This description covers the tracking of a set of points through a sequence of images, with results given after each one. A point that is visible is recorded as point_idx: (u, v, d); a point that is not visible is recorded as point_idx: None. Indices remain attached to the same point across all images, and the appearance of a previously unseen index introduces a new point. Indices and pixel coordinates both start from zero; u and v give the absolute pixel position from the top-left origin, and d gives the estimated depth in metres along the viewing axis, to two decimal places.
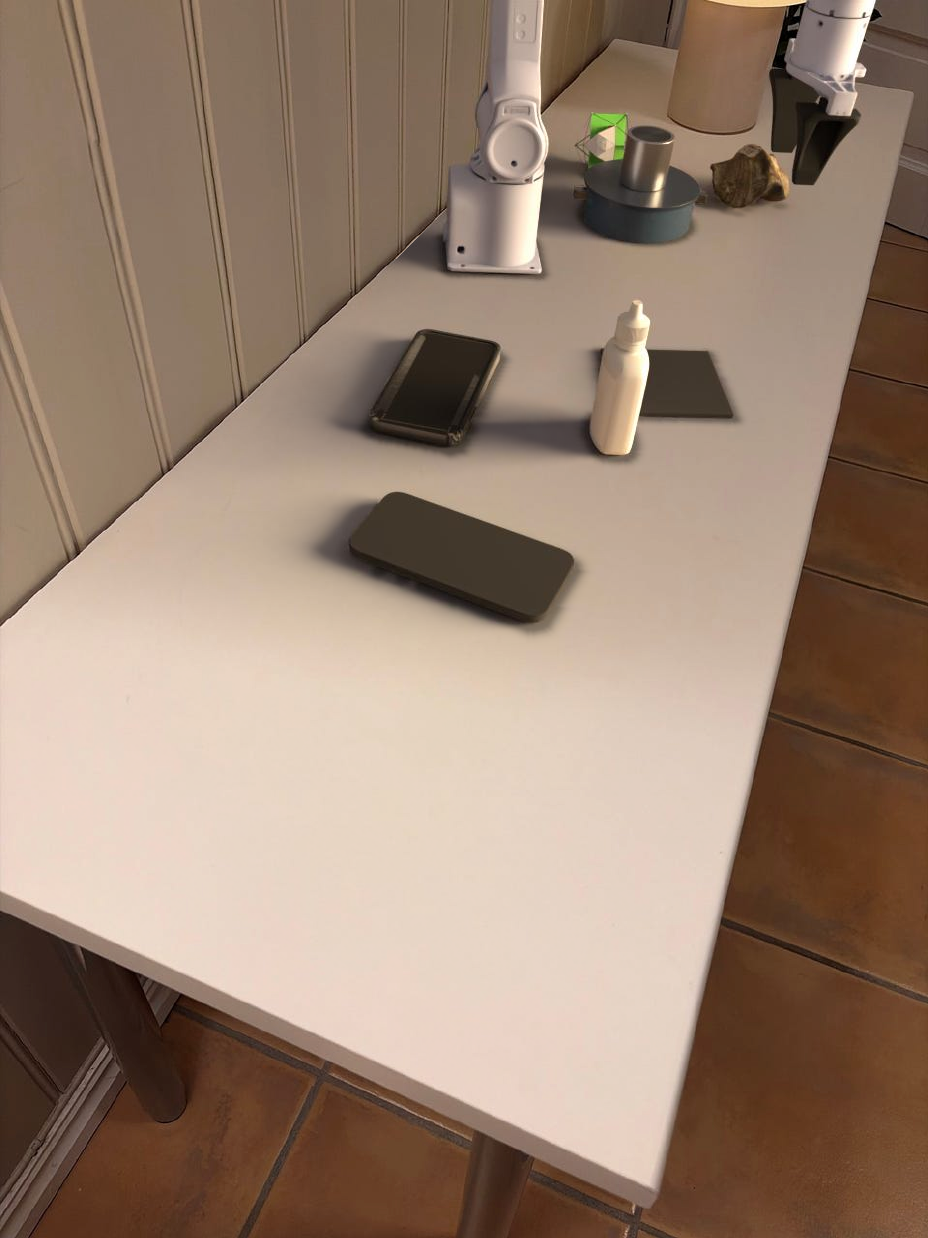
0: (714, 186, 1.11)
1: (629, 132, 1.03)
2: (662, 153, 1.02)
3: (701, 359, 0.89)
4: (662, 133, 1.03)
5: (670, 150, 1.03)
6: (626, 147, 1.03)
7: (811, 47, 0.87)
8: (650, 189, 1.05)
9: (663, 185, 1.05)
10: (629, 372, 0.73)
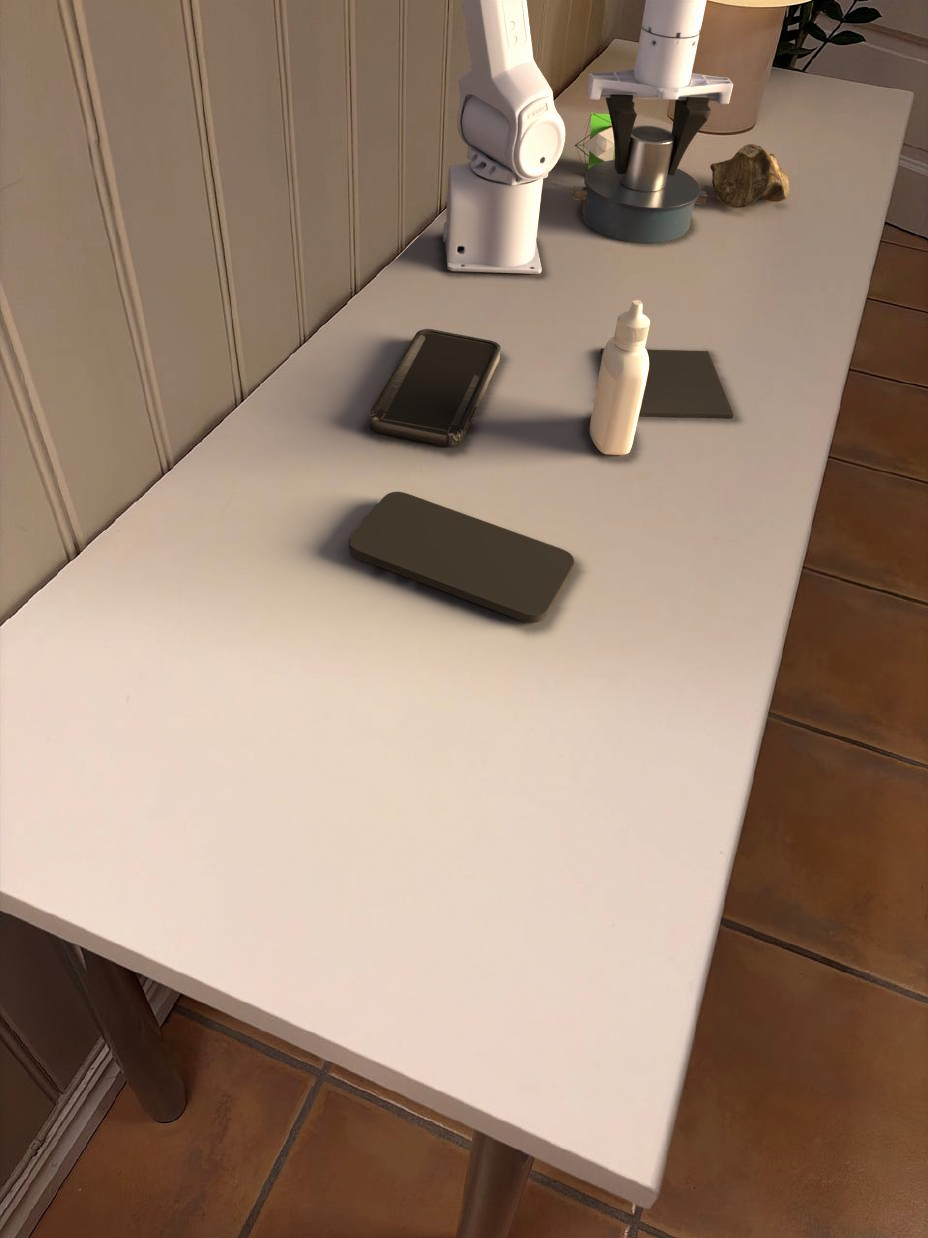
0: (714, 186, 1.11)
1: None
2: (662, 153, 1.02)
3: (701, 359, 0.89)
4: (662, 133, 1.03)
5: (670, 150, 1.03)
6: None
7: None
8: (650, 189, 1.05)
9: (663, 185, 1.05)
10: (629, 372, 0.73)
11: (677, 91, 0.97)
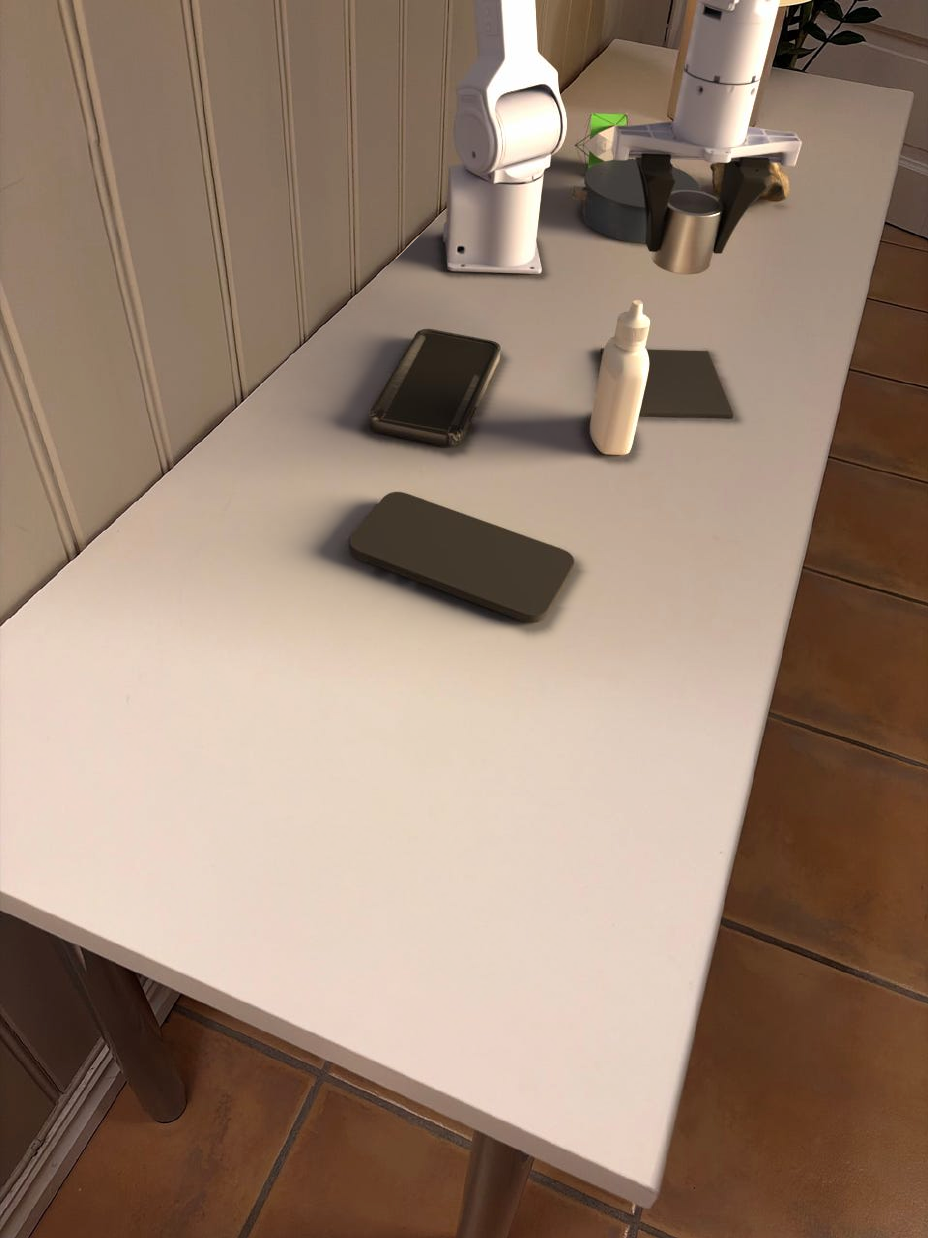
0: (714, 186, 1.11)
1: None
2: (707, 228, 0.80)
3: (701, 359, 0.89)
4: (707, 201, 0.81)
5: (717, 223, 0.80)
6: None
7: None
8: (690, 271, 0.82)
9: (707, 266, 0.83)
10: (629, 372, 0.73)
11: (729, 152, 0.74)
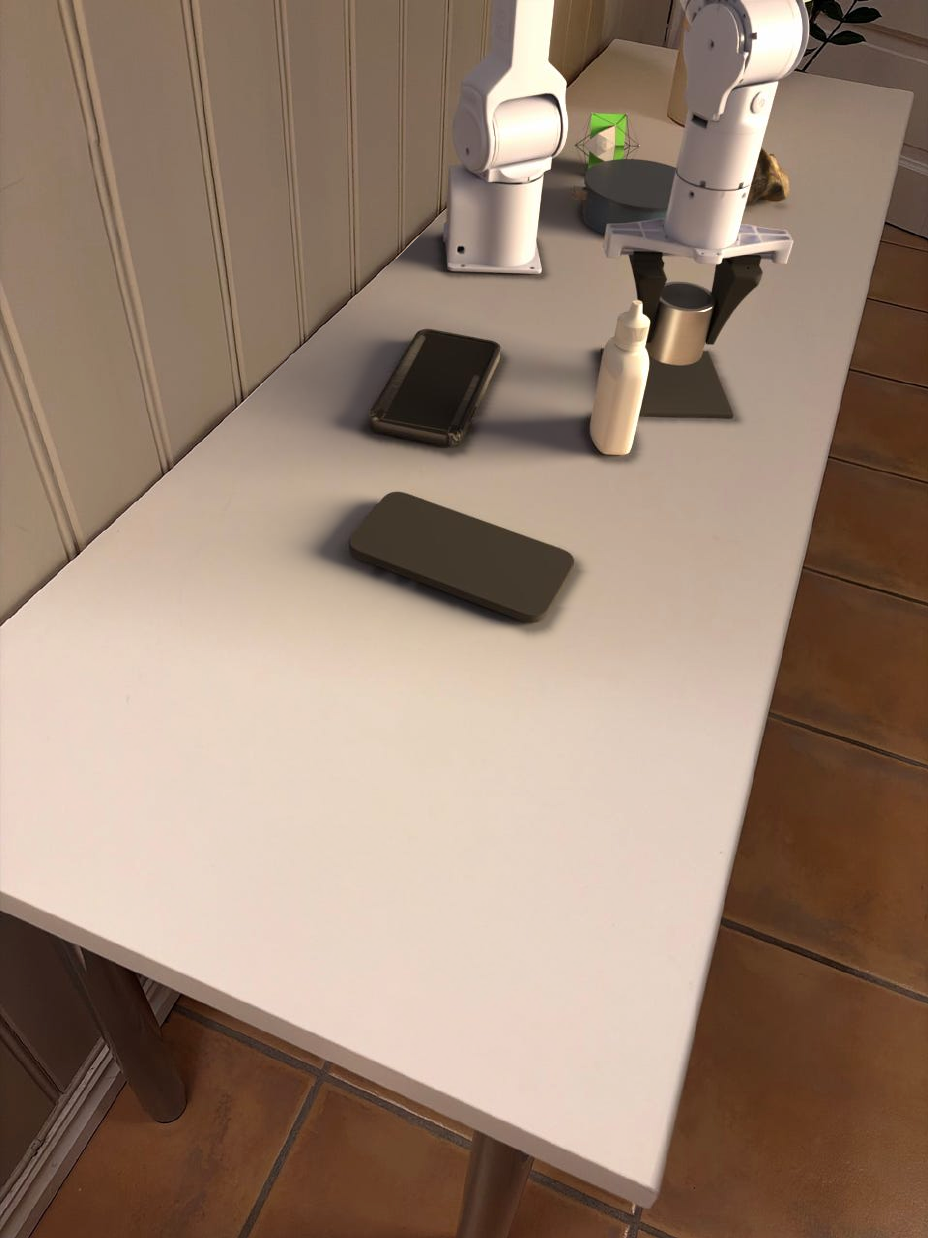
0: None
1: None
2: (699, 322, 0.80)
3: (701, 359, 0.89)
4: (700, 294, 0.81)
5: (709, 317, 0.80)
6: None
7: None
8: (682, 363, 0.82)
9: (699, 356, 0.83)
10: (629, 372, 0.73)
11: (720, 254, 0.74)
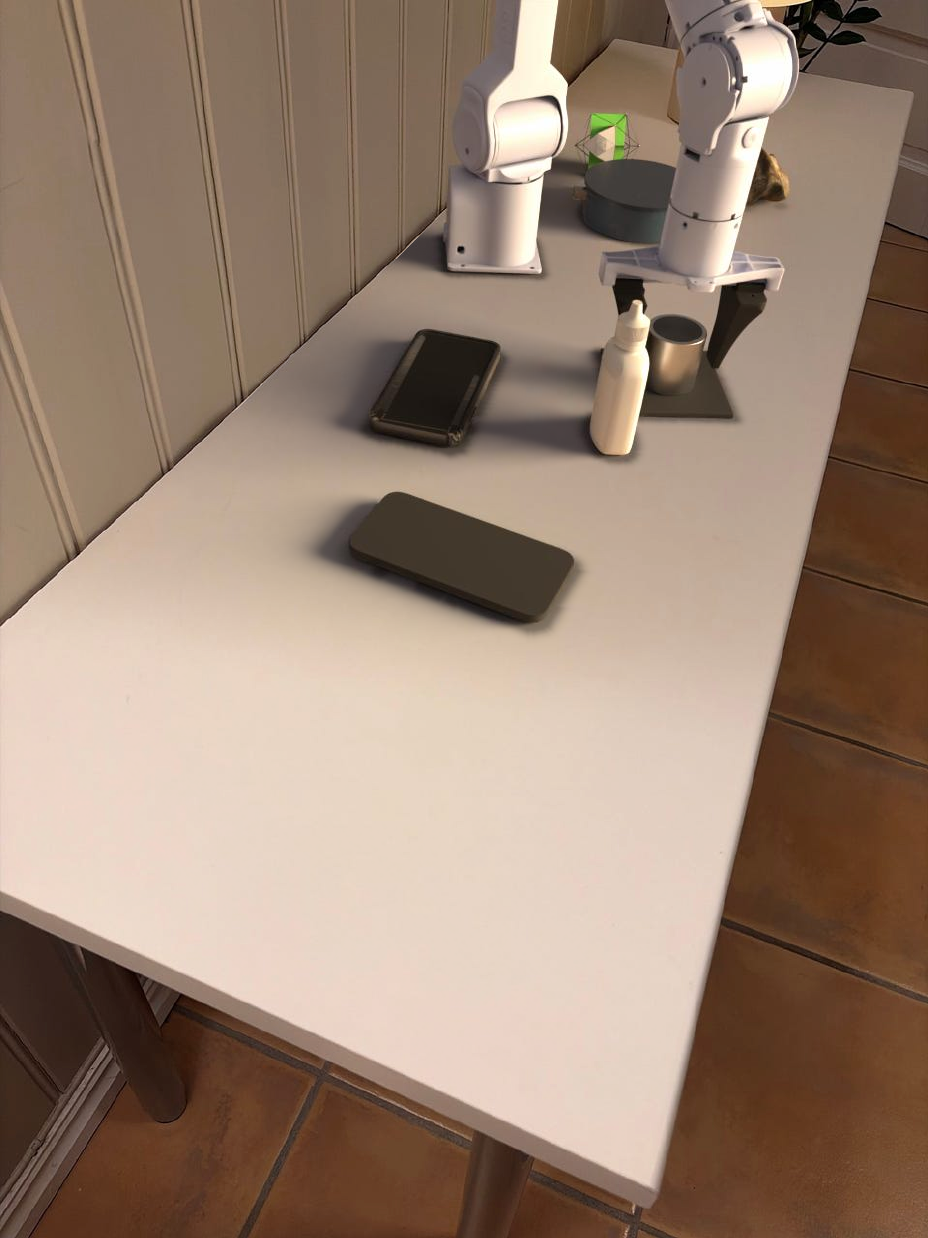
0: None
1: (650, 326, 0.83)
2: (691, 355, 0.82)
3: (701, 359, 0.89)
4: (691, 327, 0.83)
5: (701, 350, 0.82)
6: (646, 343, 0.83)
7: None
8: (675, 393, 0.84)
9: (691, 387, 0.85)
10: (629, 372, 0.73)
11: (713, 283, 0.76)
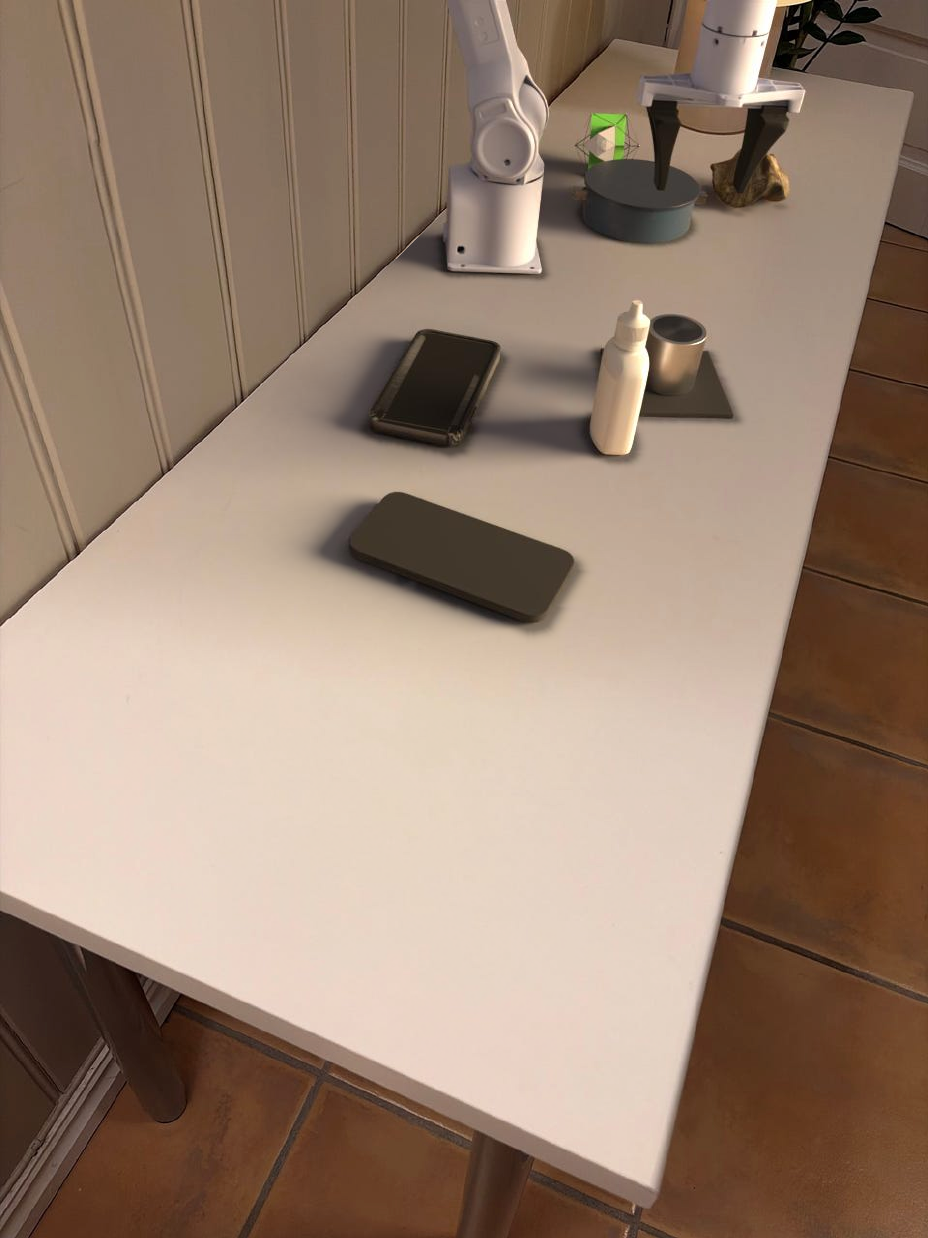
0: (714, 186, 1.11)
1: (650, 326, 0.83)
2: (691, 355, 0.82)
3: (701, 359, 0.89)
4: (691, 327, 0.83)
5: (701, 350, 0.82)
6: (646, 343, 0.83)
7: None
8: (675, 393, 0.84)
9: (691, 387, 0.85)
10: (629, 372, 0.73)
11: (741, 98, 0.84)
